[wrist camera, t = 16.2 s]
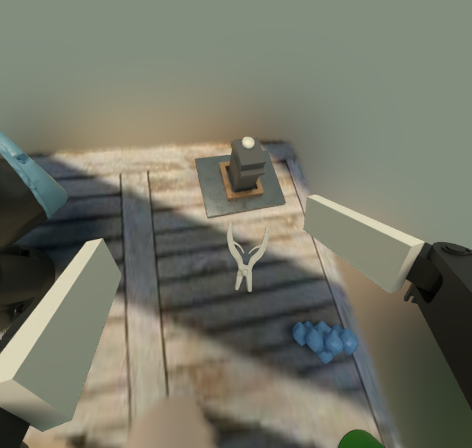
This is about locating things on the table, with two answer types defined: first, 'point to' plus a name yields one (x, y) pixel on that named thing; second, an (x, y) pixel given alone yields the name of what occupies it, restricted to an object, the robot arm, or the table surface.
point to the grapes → (325, 339)
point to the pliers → (242, 268)
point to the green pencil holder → (359, 440)
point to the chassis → (221, 192)
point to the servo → (245, 164)
